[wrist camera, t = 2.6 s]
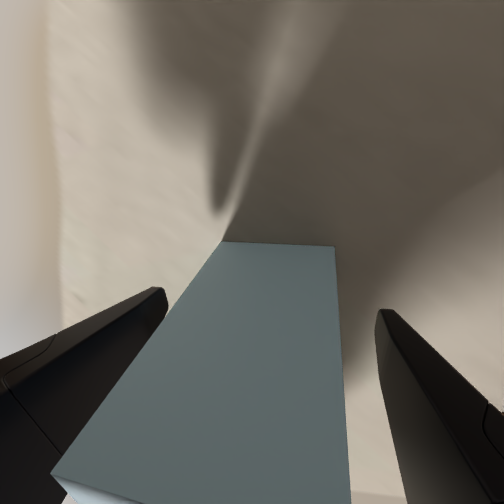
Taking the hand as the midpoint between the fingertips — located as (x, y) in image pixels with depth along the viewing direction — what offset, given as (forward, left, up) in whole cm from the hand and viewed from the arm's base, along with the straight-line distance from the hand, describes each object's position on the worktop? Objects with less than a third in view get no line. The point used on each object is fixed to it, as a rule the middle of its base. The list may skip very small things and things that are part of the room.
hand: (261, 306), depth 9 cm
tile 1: (0, 0, -3) cm, 3 cm away
